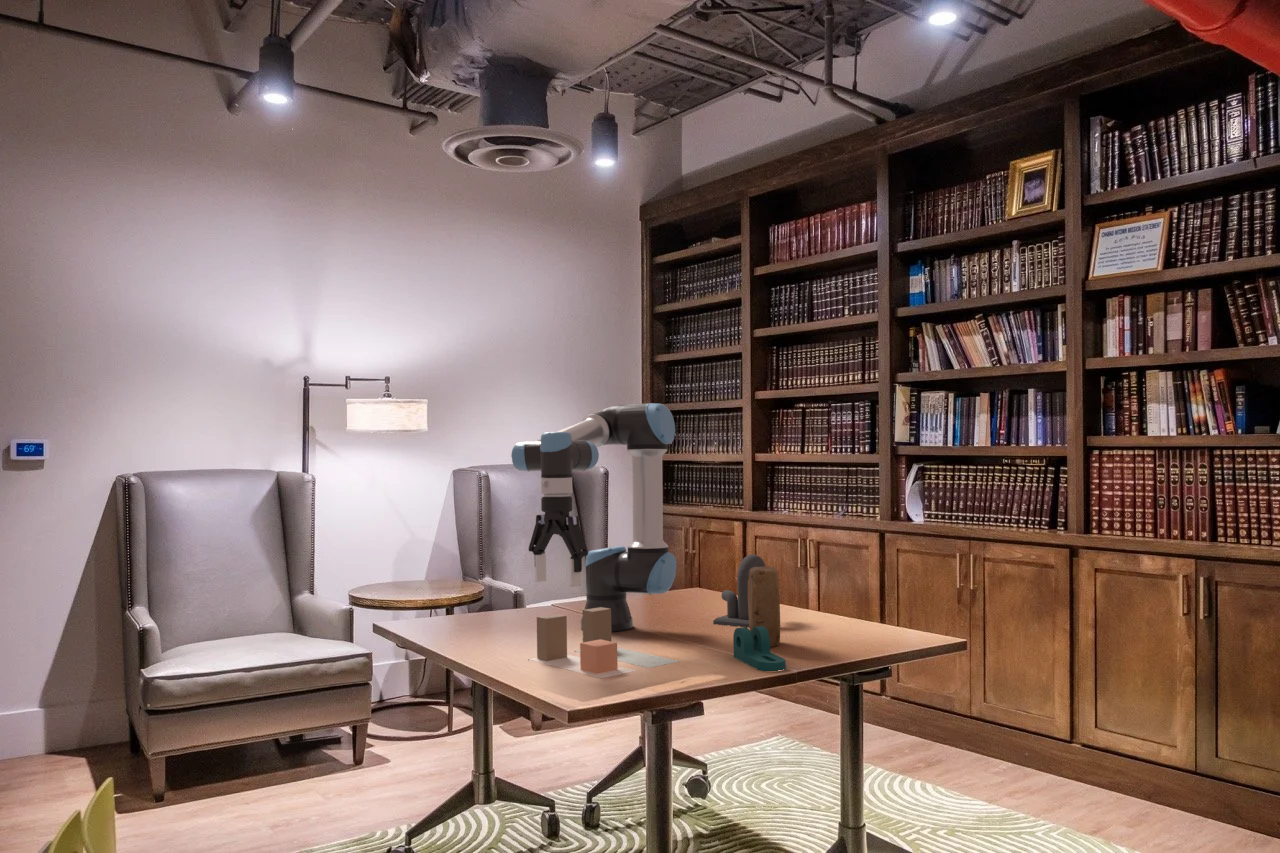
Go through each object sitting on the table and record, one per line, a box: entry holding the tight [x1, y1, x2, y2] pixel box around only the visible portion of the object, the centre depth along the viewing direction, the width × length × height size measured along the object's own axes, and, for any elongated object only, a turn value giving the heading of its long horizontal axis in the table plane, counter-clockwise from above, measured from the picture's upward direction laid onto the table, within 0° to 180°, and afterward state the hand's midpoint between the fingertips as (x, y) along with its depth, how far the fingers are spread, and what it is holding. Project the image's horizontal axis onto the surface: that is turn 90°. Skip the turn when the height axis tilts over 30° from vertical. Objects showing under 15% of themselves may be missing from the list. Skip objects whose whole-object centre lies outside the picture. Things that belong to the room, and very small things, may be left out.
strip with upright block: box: [573, 607, 681, 669], centre depth 234 cm, size 28×10×11 cm, turn 41°
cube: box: [579, 639, 619, 674], centre depth 219 cm, size 6×6×6 cm
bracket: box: [732, 626, 787, 672], centre depth 229 cm, size 18×7×8 cm, turn 17°
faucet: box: [712, 553, 767, 628], centre depth 285 cm, size 18×16×20 cm
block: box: [748, 566, 781, 648], centre depth 252 cm, size 11×8×20 cm
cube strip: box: [527, 613, 636, 679], centre depth 224 cm, size 28×10×11 cm, turn 41°
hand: (557, 583), depth 232 cm, fingers open, 13 cm apart
